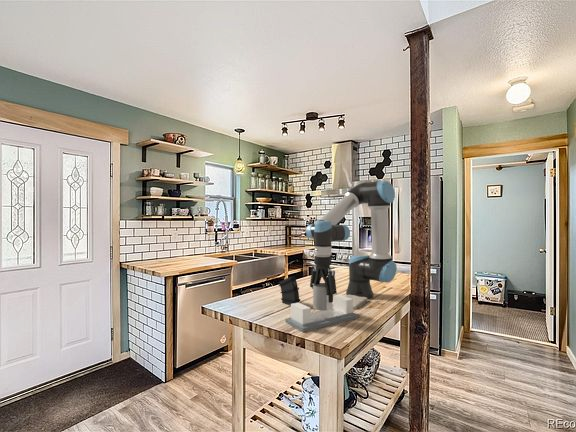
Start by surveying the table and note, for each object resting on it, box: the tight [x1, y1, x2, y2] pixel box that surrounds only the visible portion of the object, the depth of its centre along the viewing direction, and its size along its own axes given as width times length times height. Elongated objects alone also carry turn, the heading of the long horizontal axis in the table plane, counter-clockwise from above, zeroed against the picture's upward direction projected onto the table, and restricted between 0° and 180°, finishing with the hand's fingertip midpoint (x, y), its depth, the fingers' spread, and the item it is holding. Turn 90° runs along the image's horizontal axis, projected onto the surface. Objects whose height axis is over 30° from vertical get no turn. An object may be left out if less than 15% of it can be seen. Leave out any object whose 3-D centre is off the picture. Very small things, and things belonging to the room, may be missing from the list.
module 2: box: [332, 294, 354, 314], centre depth 140 cm, size 4×9×6 cm, turn 32°
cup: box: [312, 282, 328, 311], centre depth 133 cm, size 8×8×10 cm
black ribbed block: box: [278, 275, 301, 307], centre depth 156 cm, size 4×13×15 cm, turn 40°
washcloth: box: [344, 295, 368, 310], centre depth 158 cm, size 12×18×3 cm, turn 146°
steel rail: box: [290, 307, 354, 326], centre depth 133 cm, size 28×9×1 cm, turn 122°
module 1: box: [290, 302, 312, 324], centre depth 127 cm, size 4×9×6 cm, turn 32°
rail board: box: [285, 311, 360, 333], centre depth 133 cm, size 31×13×2 cm, turn 122°
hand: (322, 306), depth 133 cm, fingers closed on cup, 8 cm apart
